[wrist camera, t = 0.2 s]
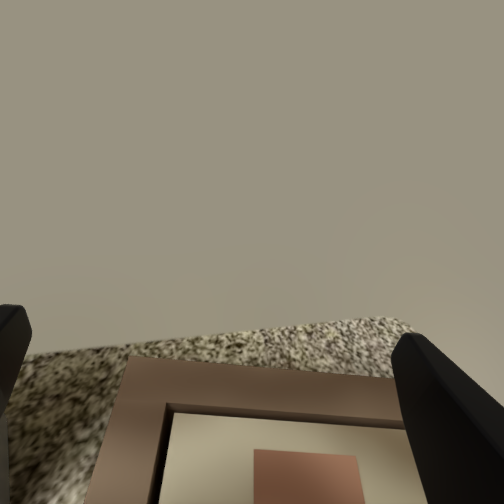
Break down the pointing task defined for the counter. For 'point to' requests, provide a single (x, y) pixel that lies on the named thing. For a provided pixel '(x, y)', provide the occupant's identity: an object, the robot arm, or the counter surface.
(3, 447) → the grey rectangular block
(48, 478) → the counter surface
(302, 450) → the trapdoor plate
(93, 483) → the frame
